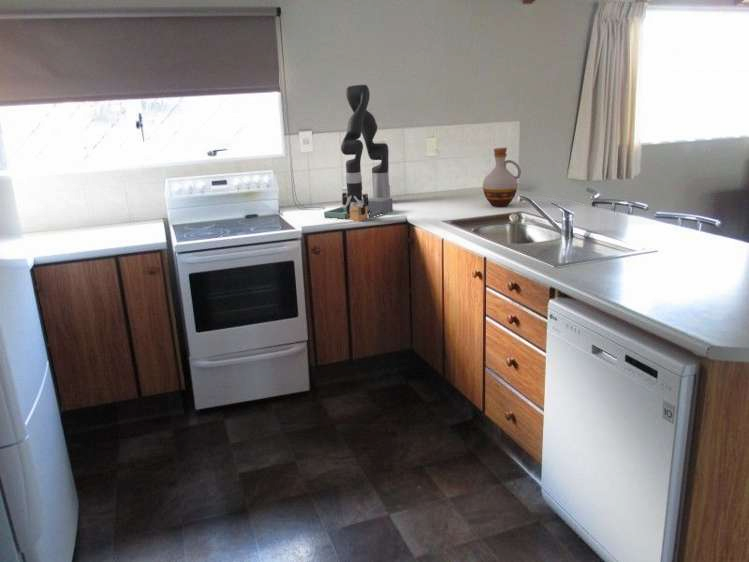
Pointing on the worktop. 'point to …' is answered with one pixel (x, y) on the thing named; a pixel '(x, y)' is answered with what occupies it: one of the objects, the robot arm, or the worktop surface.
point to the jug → (501, 181)
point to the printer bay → (379, 206)
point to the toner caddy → (357, 213)
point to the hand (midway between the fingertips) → (356, 214)
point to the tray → (337, 213)
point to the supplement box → (344, 190)
